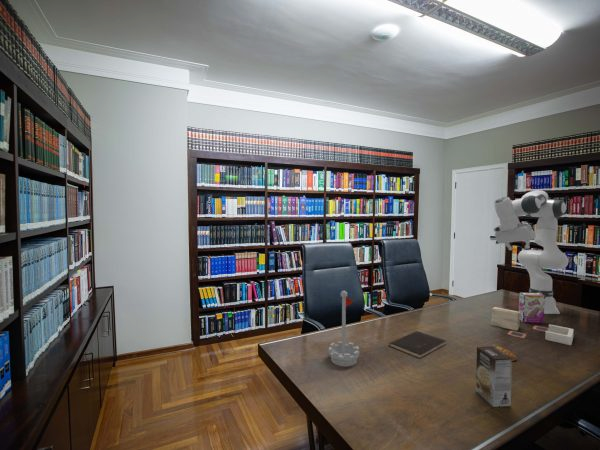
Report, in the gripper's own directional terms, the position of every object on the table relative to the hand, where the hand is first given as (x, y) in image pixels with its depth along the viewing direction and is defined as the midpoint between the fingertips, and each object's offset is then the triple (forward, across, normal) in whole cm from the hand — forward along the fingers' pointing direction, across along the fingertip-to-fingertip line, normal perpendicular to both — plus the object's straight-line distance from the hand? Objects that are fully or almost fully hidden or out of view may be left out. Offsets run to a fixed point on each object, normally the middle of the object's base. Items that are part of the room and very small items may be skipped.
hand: (519, 249), depth 167 cm
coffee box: (+32, -38, +85) cm, 99 cm away
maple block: (+39, +9, +18) cm, 44 cm away
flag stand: (+16, +1, +118) cm, 120 cm away
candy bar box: (+44, +10, -2) cm, 45 cm away
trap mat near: (+40, -1, +24) cm, 46 cm away
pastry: (+36, -16, +53) cm, 66 cm away
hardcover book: (+26, +4, +79) cm, 84 cm away
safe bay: (+45, -11, +9) cm, 47 cm away
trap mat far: (+44, 0, +4) cm, 44 cm away
